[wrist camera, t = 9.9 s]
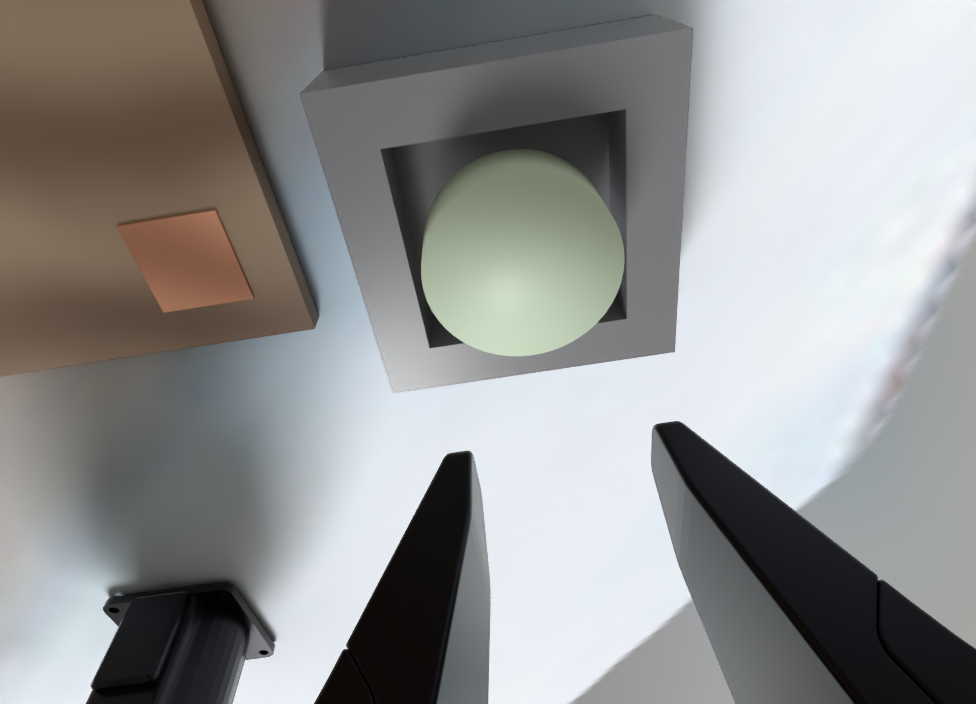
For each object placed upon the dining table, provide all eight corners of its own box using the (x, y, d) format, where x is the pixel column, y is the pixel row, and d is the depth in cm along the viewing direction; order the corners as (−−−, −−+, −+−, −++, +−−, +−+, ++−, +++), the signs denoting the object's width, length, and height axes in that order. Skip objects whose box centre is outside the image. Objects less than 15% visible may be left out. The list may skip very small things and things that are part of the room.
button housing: (647, 303, 21) (674, 352, 18) (399, 340, 21) (392, 393, 18) (653, 14, 15) (693, 27, 13) (323, 70, 16) (299, 94, 13)
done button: (609, 307, 17) (625, 341, 16) (442, 332, 17) (442, 368, 16) (606, 133, 14) (623, 155, 13) (404, 166, 14) (399, 191, 13)
